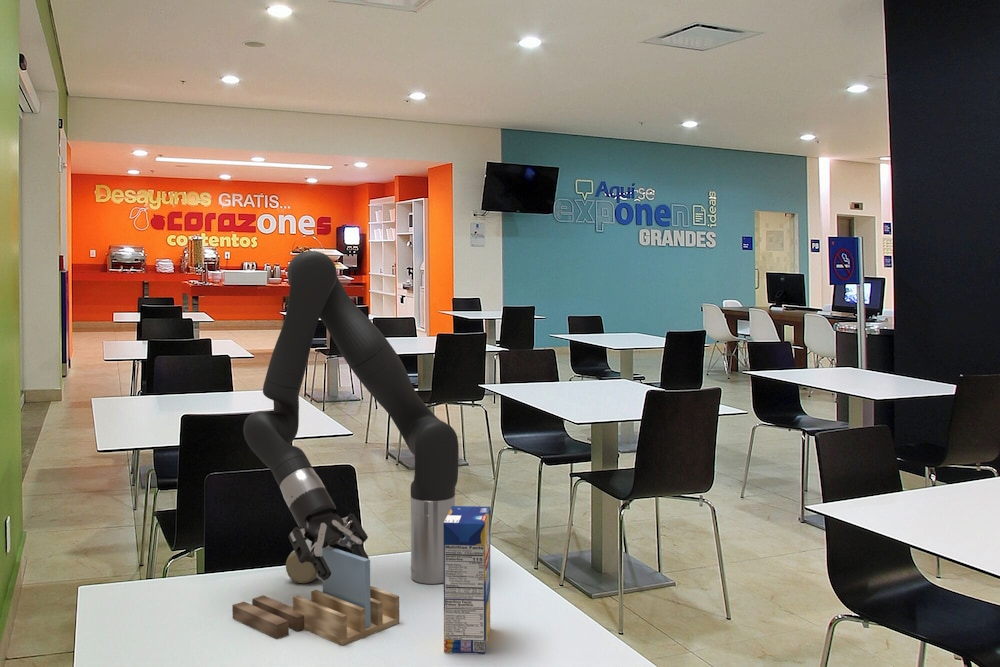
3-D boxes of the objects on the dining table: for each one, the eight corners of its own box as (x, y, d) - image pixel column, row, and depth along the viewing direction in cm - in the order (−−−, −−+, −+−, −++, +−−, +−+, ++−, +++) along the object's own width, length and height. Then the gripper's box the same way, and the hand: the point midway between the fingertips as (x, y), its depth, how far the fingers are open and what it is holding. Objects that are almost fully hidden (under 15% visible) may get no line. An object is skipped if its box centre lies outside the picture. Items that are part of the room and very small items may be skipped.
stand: (232, 618, 159) (232, 605, 158) (263, 608, 163) (263, 595, 163) (277, 639, 149) (276, 624, 149) (308, 627, 154) (308, 613, 154)
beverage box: (443, 653, 144) (443, 522, 142) (452, 626, 155) (452, 505, 153) (484, 654, 143) (484, 523, 142) (490, 628, 154) (490, 506, 153)
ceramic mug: (283, 584, 177) (283, 547, 176) (299, 570, 185) (300, 535, 184) (331, 588, 175) (332, 551, 174) (346, 575, 183) (347, 539, 182)
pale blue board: (323, 611, 159) (322, 547, 159) (328, 609, 160) (327, 545, 159) (365, 628, 151) (364, 561, 151) (370, 626, 152) (370, 559, 152)
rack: (293, 624, 156) (292, 597, 155) (350, 604, 166) (349, 578, 165) (342, 645, 147) (342, 616, 146) (399, 623, 156) (399, 595, 156)
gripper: (283, 493, 155) (324, 570, 148) (346, 479, 166) (386, 550, 159) (266, 517, 159) (305, 593, 152) (329, 502, 169) (367, 572, 163)
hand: (347, 571), depth 155 cm, fingers open, 8 cm apart
